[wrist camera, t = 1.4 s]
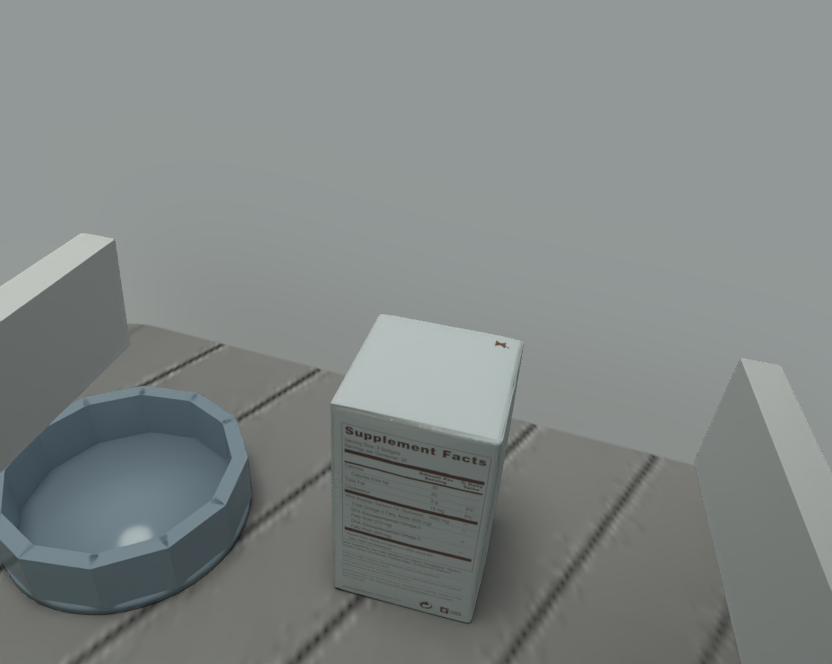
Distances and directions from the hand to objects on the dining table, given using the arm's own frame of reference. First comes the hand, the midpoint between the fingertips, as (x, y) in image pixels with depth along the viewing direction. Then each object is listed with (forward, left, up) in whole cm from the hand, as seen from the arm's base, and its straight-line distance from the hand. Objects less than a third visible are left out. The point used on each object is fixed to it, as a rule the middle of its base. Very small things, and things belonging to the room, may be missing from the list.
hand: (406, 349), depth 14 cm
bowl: (+16, -12, -22) cm, 30 cm away
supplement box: (0, -12, -22) cm, 25 cm away
